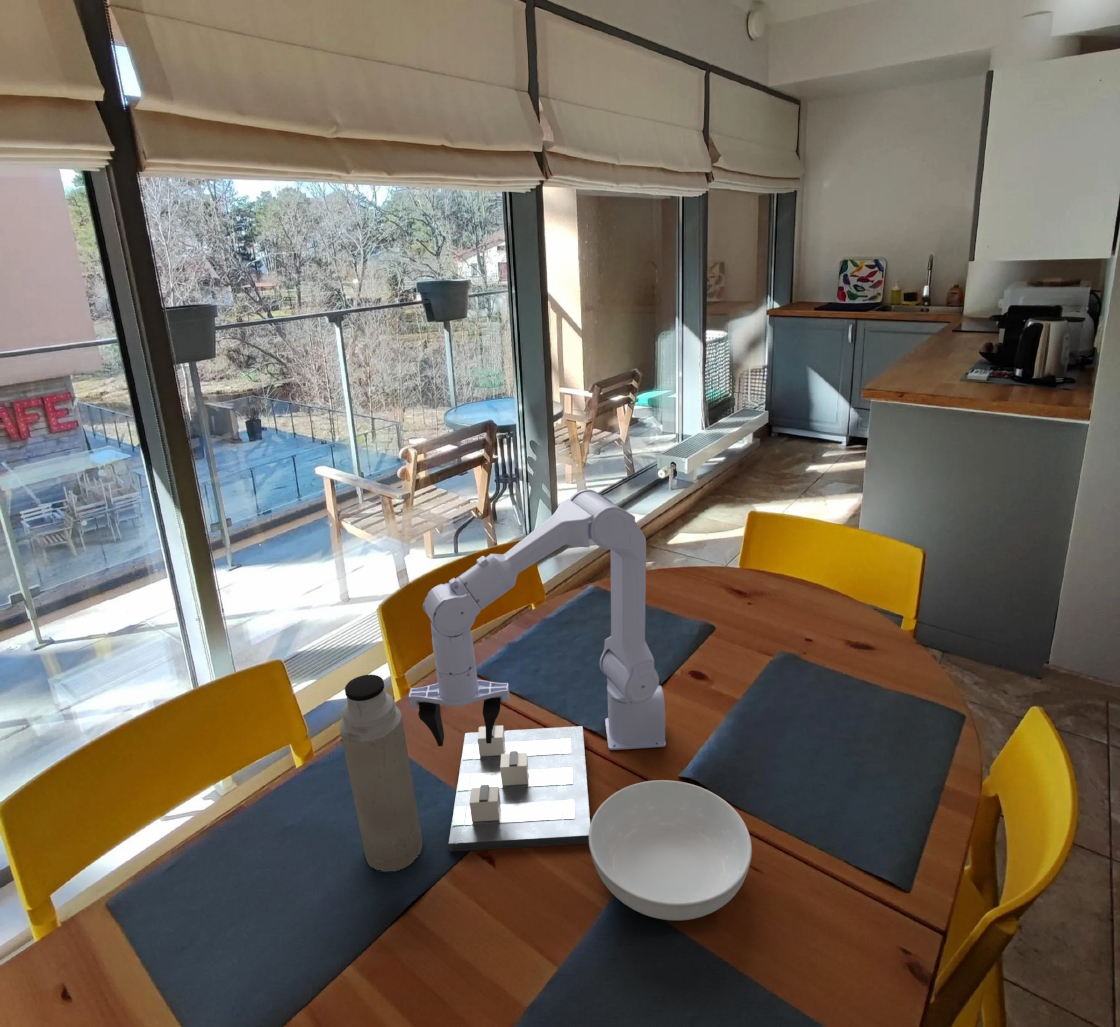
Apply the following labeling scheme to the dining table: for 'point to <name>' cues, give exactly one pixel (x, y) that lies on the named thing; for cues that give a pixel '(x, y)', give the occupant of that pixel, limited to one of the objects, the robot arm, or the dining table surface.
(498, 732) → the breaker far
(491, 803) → the block
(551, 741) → the panel
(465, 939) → the dining table surface
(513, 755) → the block
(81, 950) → the dining table surface
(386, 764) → the thermos bottle
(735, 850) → the serving bowl
